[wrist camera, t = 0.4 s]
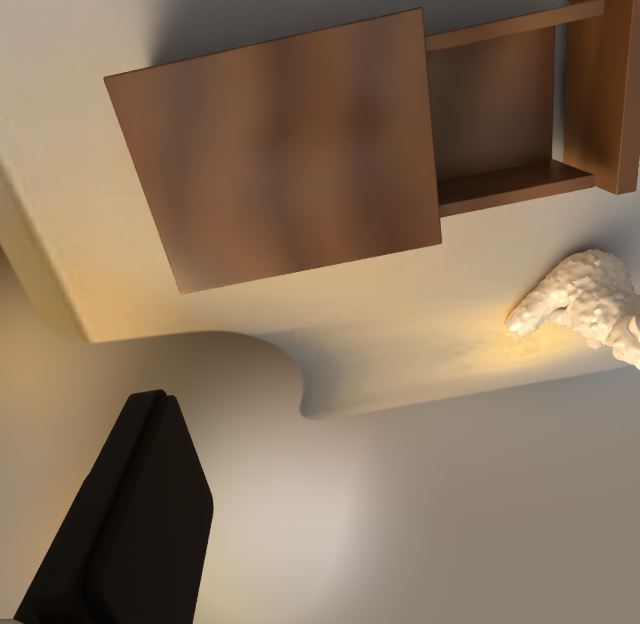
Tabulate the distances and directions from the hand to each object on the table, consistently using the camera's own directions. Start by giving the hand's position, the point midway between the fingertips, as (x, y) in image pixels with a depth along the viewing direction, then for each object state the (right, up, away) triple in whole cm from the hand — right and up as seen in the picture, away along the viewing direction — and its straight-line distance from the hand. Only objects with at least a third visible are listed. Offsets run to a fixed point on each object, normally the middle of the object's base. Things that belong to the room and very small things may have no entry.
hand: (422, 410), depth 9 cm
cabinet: (-4, +14, +26) cm, 30 cm away
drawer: (+11, +16, +24) cm, 31 cm away
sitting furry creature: (+19, +4, +32) cm, 37 cm away
